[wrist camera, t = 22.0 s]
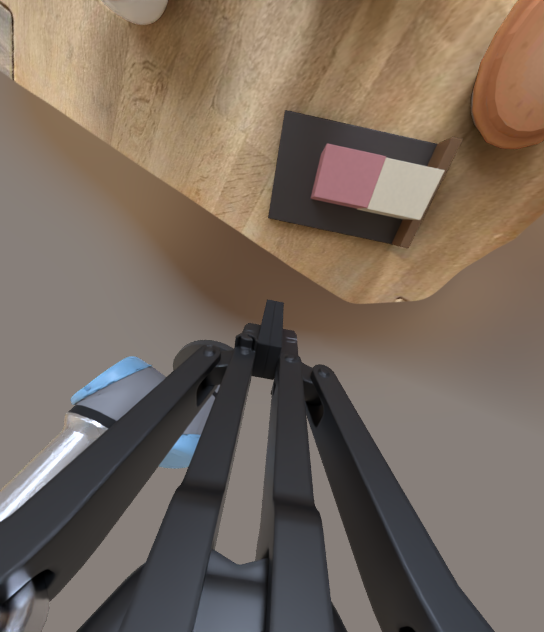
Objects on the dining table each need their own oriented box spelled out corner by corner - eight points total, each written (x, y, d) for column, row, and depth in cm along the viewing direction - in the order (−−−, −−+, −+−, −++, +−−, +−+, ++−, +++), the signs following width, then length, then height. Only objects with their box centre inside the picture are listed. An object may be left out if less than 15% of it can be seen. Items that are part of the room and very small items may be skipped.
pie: (451, 175, 31) (478, 168, 26) (454, 34, 24) (490, -5, 20) (577, 124, 27) (633, 107, 23) (619, -56, 21) (709, -129, 16)
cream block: (402, 219, 33) (420, 220, 28) (356, 209, 33) (367, 208, 28) (421, 176, 30) (445, 170, 26) (371, 165, 30) (386, 157, 25)
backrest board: (395, 244, 36) (408, 248, 32) (268, 217, 36) (266, 218, 32) (439, 148, 29) (463, 139, 25) (285, 114, 29) (284, 98, 25)
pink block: (356, 208, 33) (367, 207, 28) (310, 198, 32) (313, 196, 28) (372, 164, 30) (386, 156, 25) (321, 153, 30) (326, 143, 25)
